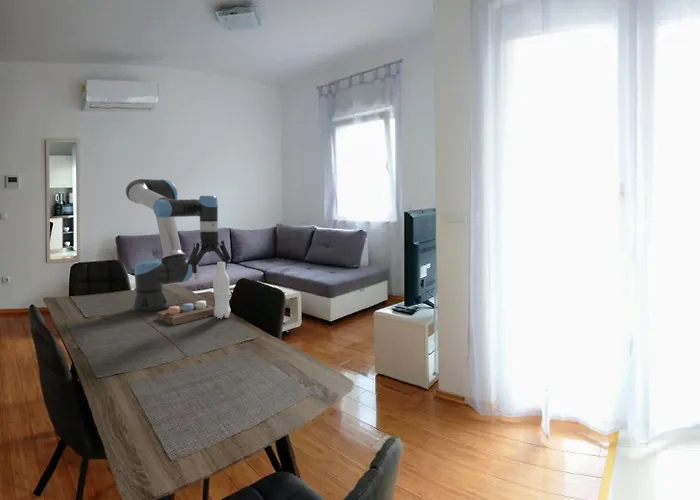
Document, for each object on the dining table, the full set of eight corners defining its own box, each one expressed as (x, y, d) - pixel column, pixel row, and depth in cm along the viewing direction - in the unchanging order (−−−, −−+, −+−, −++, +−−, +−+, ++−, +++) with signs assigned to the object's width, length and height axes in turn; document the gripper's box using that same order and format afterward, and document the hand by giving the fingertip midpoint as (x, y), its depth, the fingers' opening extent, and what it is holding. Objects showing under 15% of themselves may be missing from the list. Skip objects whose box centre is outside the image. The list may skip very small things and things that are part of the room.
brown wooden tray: (157, 318, 182) (157, 312, 182) (200, 309, 199) (200, 303, 198) (174, 324, 174) (173, 318, 173) (217, 314, 190) (217, 307, 189)
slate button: (180, 313, 186) (180, 304, 185) (190, 311, 189) (189, 302, 188) (186, 315, 183) (185, 306, 182) (195, 313, 186) (194, 304, 186)
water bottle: (233, 315, 188) (231, 261, 185) (227, 319, 181) (225, 263, 178) (218, 314, 189) (216, 260, 186) (211, 319, 182) (209, 263, 179)
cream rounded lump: (194, 310, 191) (193, 301, 190) (202, 308, 194) (202, 300, 193) (199, 312, 188) (199, 303, 187) (208, 310, 191) (207, 301, 191)
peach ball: (166, 316, 180) (166, 307, 180) (176, 314, 184) (176, 305, 183) (172, 318, 178) (171, 309, 177) (181, 316, 181) (181, 307, 181)
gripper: (187, 233, 171) (189, 283, 173) (237, 229, 190) (238, 275, 193) (178, 231, 175) (179, 280, 178) (227, 228, 195) (228, 272, 197)
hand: (210, 278), depth 185 cm, fingers open, 13 cm apart
